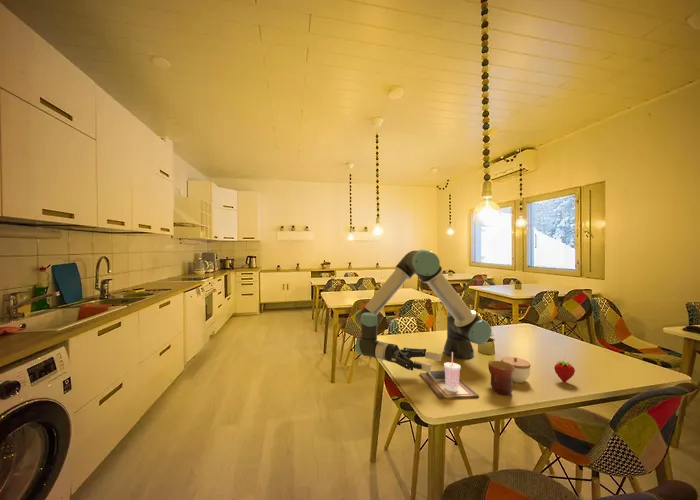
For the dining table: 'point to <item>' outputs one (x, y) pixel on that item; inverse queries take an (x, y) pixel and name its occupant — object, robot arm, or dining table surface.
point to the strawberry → (564, 370)
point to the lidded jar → (518, 368)
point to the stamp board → (439, 386)
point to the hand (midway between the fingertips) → (436, 362)
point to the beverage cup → (452, 375)
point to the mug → (501, 377)
